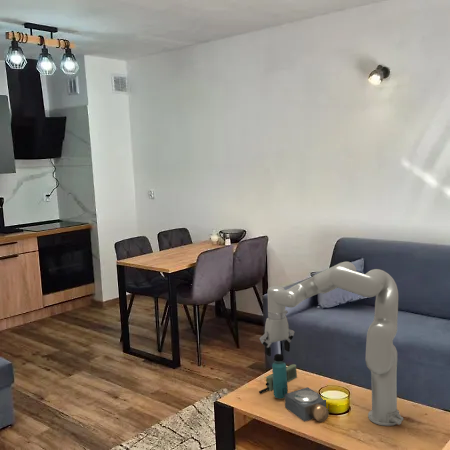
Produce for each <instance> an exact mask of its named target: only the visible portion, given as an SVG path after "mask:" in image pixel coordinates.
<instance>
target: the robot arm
mask: <svg viewBox="0 0 450 450" xmlns="http://www.w3.org/2000/svg"><path fill="white" fill-rule="evenodd" d="M336 289H341V290H343V291H346V292H348V293H349V292H350V293H352V294H355V295H357V296H361V297H364V298H373V297H375V302H374V317H373V321H372V323H370V325H369V327H368V329H367V333H366V340H365V341H366V343H365V364H366V367H367V369H368V370H369V371H370V374H371V375H370V377H371V378H370V379H371V380H370V381H371V410H369V411H368V413H367V417H368V420H369V421H371V422H372V423H374V424H375V425H379V426H385V427H391V426H396V425H401V424H402V421H404V417H403V416H401V414H400V411H399V409H398V405H397V404H398V403H397V401H398V397H397V395H398V394H397V392H398V391H397V386H398V385H397V378H398V377H397V367H398V350H397V348H396V346H395V345H394V339H395V337H396V335H397V333H398V315H399V290H398V285H397V282H396V281H395V279H394V278H393V276H391V275H390V274H389V273H388V272H386V271H385V270H382V269H379V268H374V269H371V270H369V271H367V272H366V273H361V272H360V271H357V267H356V266H355V264H354V263H352V262H351V261H343V262H342V261H341V262H339V263H337V264H335V265H333V266H331V267H329V268H327V269H325V270H323V271H321V272H318V273H316V274H314V275H313V276H312V277H310V278H307V279H305V280H302V281H301V282H299V283H296V284H295V285H293V286H291V287H289V288H288V289H285V287H283V286H280V285H272V286H269V287H268V288H267V318H266V321H265V325H264V334H263V335H261V336H260V337H259V341H260V342H261V345H263V346H264V349H265V351H264V352H265V355H267V356H268V357H271V356H272V352H271V351H272V350H271V348H272V347H271V345H272V343H277V342H280V341H284V342H283V345H284V346H283V347H284V349H283V350H284V351H286V352H290V350H291V343H292V339H293V338H294V335H295V331H294V330H292V329H290V328H289V327H290V326H289V322H288V317H287V316H286V315H287V314H288V310H287V309H286V308H290V309H292V308H295V307H297V306H298V305H299V304H301V303H302V302H303V301H305V300H307V299H310V298H311V297H313V296H316V295H319V294H327V293H329V292H331V291H333V290H336Z"/></svg>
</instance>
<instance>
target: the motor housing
mask: <svg viewBox="0 0 450 450" xmlns="http://www.w3.org/2000/svg"><path fill="white" fill-rule="evenodd" d="M320 395H321V394H319V393H318V392H316V391H315V390H313V389H311V388H310V387H304V388H299V389H298V390H294V391H290V392H288V393H287V394H285V398H284V408H285V409H286V410H288V412H290V413H292V414H293V415H295V416H296V417H297V418H299V419H301V420H302V421H303V422H308V421H311V420H314V419H315V420H316V421H318V422H319V423H323V422H325V421H327V419H328V417H329V415H330V412H329V411H328V410H329V408H328V409H327V408H326V400H323V399H322V398H321V397H320Z"/></svg>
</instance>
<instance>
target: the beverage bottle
mask: <svg viewBox="0 0 450 450" xmlns="http://www.w3.org/2000/svg"><path fill="white" fill-rule="evenodd" d="M273 360H274V362H273V363H272V364H271V367H272V369H271V370H272V374H273V380H272V381H273V390H272V394H273V397H274V398H276V399H285V394H287V393H289V389H288V382H287V372H286V367H287V364H286V362H284V354H281V353H276V354H274V355H273Z"/></svg>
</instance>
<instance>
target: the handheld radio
mask: <svg viewBox="0 0 450 450" xmlns="http://www.w3.org/2000/svg"><path fill="white" fill-rule="evenodd" d="M286 372H287V383H289V382H291V381H293V380H296V379H297V378H298V375H297V374H298V373H297V364H294V363H293V364H290V365H288V366H286ZM264 378H265V381H266V383H265V386H266V387H265V388H263V389H261V390H259V391H258V393H259V395H261V394H264V393H265V392H267V391H269V392H272V391H273V381H272V380H273V373H271V374H269V375H267V376H266V377H264Z"/></svg>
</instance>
